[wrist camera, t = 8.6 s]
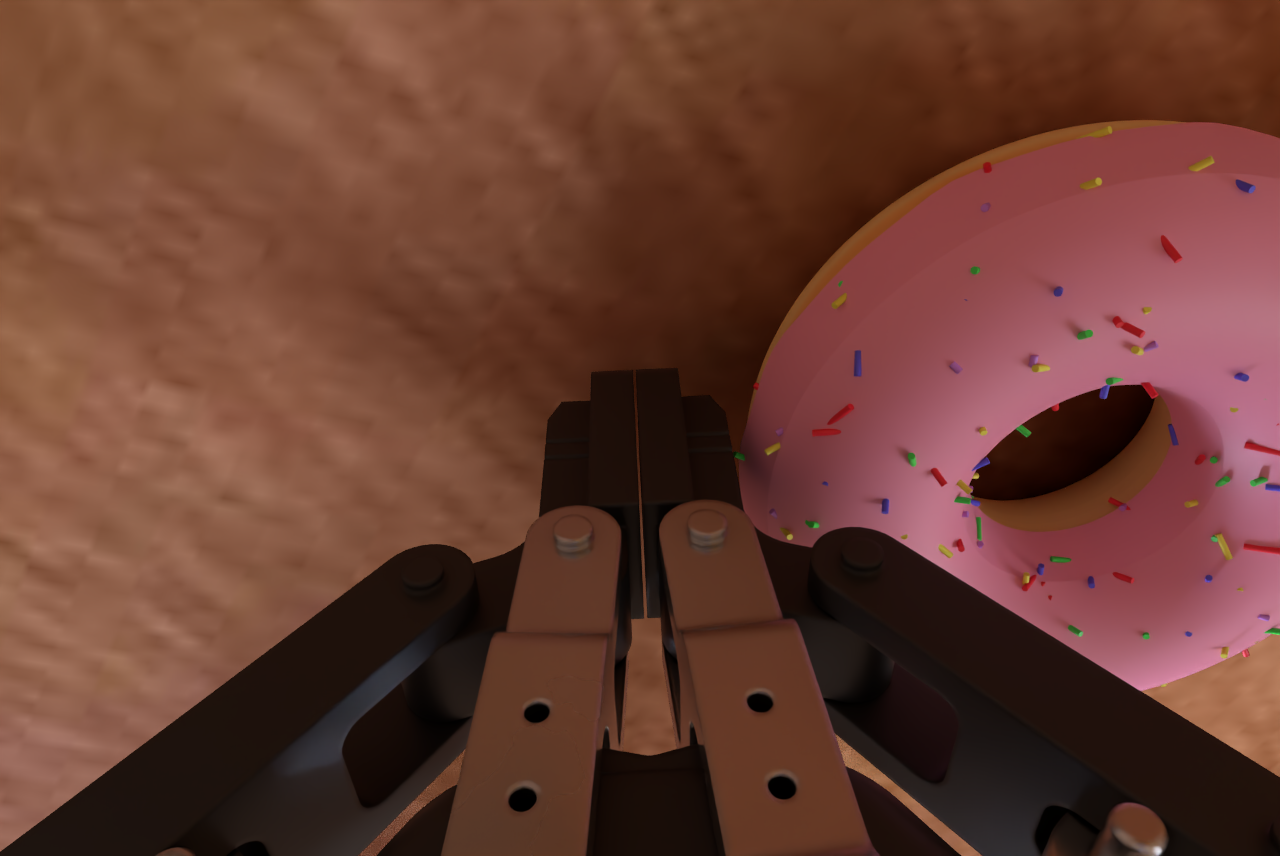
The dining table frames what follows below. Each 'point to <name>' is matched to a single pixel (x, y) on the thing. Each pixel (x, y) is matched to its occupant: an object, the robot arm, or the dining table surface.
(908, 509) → the doughnut
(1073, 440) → the dining table surface
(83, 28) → the dining table surface
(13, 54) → the dining table surface
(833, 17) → the dining table surface
